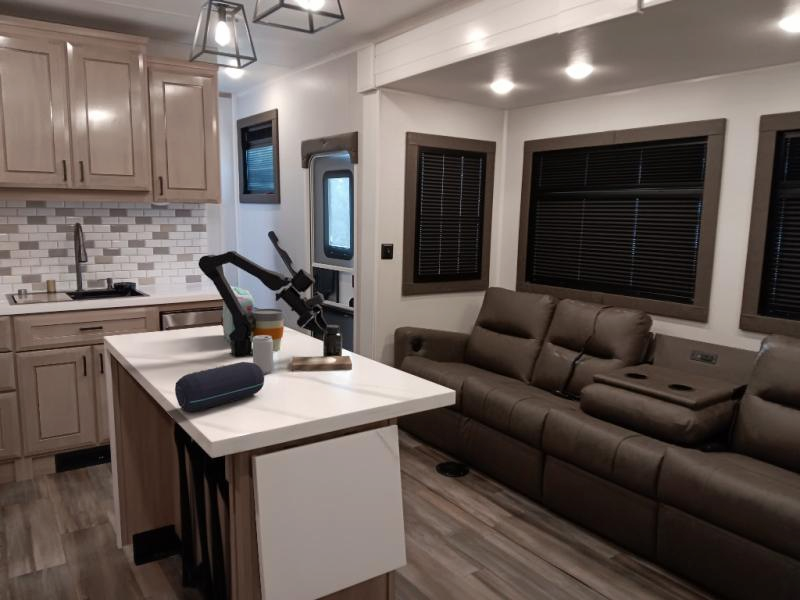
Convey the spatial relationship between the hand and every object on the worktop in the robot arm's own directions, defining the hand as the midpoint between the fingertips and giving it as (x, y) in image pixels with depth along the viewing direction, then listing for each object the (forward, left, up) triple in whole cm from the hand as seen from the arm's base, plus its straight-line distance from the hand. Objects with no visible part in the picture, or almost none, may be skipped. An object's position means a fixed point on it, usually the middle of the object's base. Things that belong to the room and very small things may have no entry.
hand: (326, 331), depth 211 cm
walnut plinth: (-7, -9, -10) cm, 15 cm away
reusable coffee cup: (-11, +23, -10) cm, 28 cm away
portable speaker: (-51, -26, -10) cm, 58 cm away
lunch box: (-13, +46, -10) cm, 49 cm away
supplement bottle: (+2, -2, -10) cm, 10 cm away
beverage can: (-27, -5, -10) cm, 29 cm away
